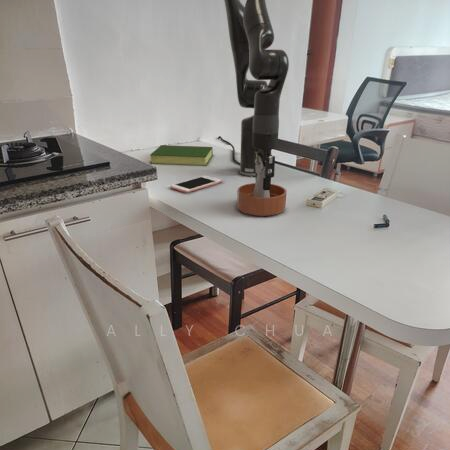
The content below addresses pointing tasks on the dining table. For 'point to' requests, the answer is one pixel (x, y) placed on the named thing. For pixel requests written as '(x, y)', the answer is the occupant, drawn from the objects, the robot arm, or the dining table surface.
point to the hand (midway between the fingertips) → (262, 185)
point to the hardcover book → (182, 155)
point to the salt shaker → (260, 185)
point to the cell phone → (195, 184)
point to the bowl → (261, 200)
